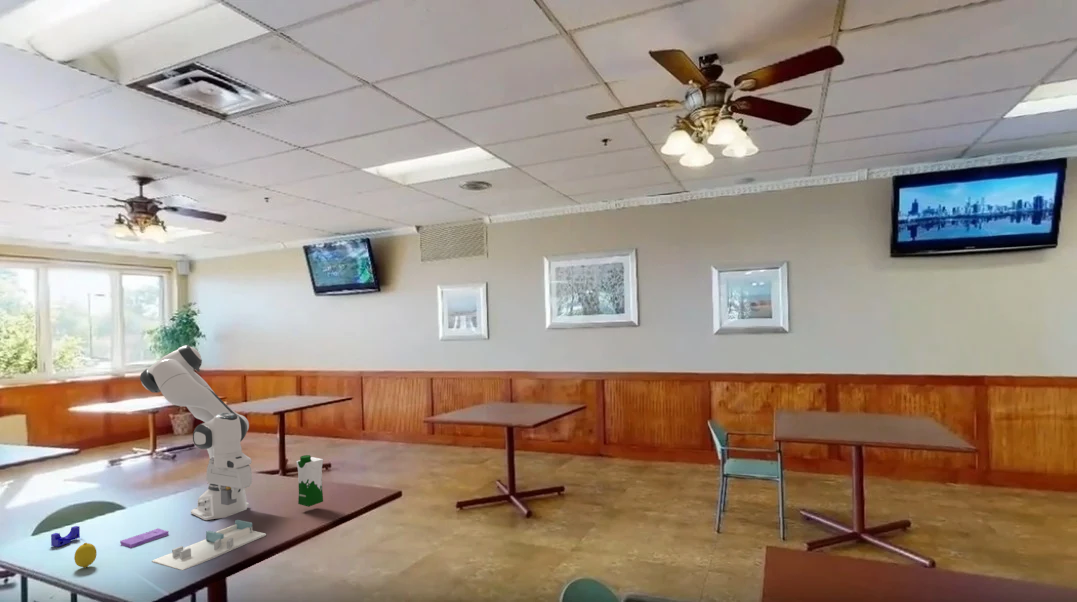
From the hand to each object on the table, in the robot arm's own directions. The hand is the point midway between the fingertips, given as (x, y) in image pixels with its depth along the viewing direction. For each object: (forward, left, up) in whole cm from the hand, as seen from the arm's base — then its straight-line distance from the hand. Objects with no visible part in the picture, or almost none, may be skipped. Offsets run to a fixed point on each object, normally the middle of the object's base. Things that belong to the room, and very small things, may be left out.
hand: (228, 497), depth 201 cm
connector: (0, 0, -2) cm, 2 cm away
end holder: (0, 0, -14) cm, 14 cm away
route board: (+2, -8, -14) cm, 17 cm away
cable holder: (-54, -25, -15) cm, 61 cm away
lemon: (-22, -34, -15) cm, 43 cm away
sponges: (-28, -13, -15) cm, 35 cm away
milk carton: (-2, +38, -15) cm, 41 cm away
